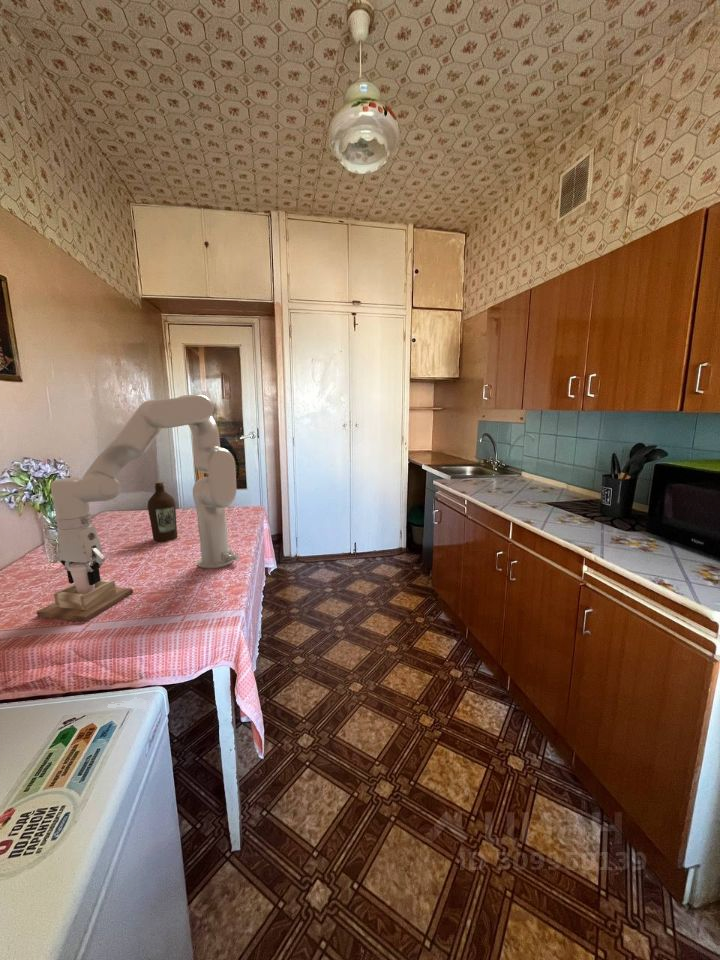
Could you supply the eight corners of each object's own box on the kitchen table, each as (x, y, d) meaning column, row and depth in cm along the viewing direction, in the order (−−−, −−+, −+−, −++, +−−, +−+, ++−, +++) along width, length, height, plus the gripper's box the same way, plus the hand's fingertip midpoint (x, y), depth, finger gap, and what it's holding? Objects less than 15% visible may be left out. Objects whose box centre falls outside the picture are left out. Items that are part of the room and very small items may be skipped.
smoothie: (79, 602, 105) (71, 555, 102) (69, 596, 108) (60, 550, 105) (104, 592, 110) (97, 547, 107) (94, 587, 113) (86, 543, 111)
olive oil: (148, 538, 165) (141, 482, 160) (174, 532, 172) (168, 479, 167) (156, 544, 157) (149, 486, 153) (182, 538, 165) (176, 482, 160)
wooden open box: (133, 593, 115) (130, 576, 114) (86, 622, 100) (83, 603, 99) (89, 589, 119) (86, 573, 118) (37, 616, 103) (33, 598, 102)
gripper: (112, 519, 107) (121, 578, 110) (62, 517, 110) (72, 574, 113) (88, 527, 99) (99, 590, 103) (35, 525, 103) (47, 586, 106)
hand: (85, 581), depth 108 cm, fingers closed on smoothie, 6 cm apart
